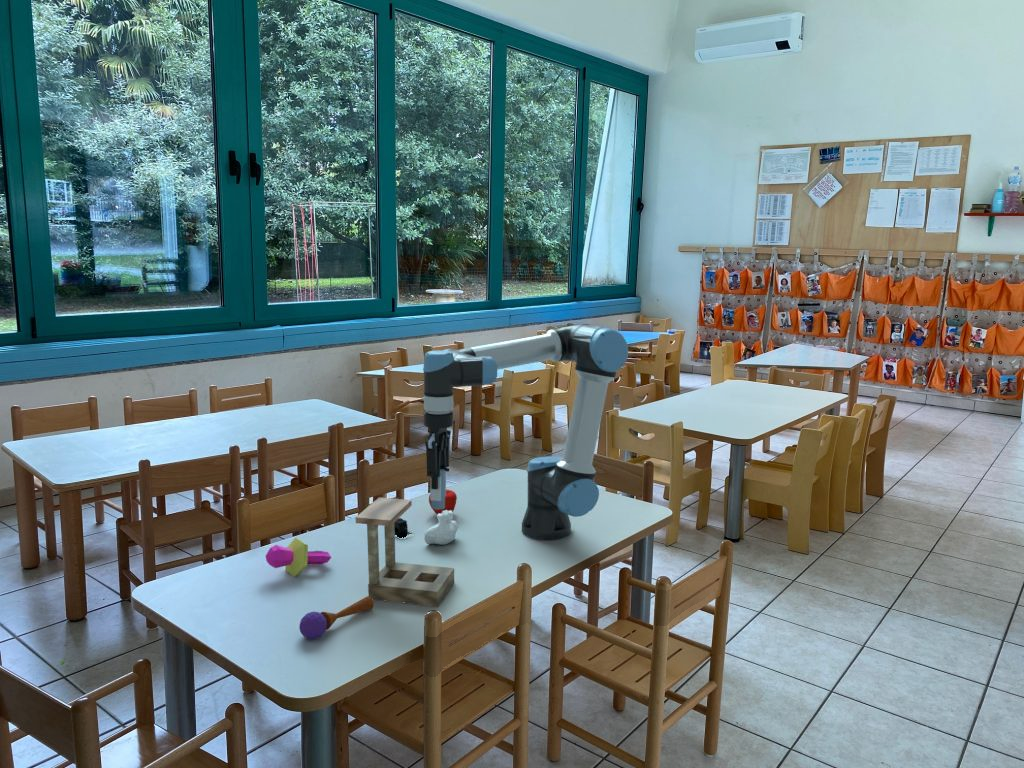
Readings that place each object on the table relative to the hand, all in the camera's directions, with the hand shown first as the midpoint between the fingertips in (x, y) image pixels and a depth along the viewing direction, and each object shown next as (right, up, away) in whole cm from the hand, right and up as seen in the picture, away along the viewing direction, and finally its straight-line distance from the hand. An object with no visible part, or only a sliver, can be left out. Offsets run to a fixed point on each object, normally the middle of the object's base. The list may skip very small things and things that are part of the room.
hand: (438, 497), depth 207 cm
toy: (-38, -21, +5) cm, 44 cm away
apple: (-3, -13, +47) cm, 49 cm away
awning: (-13, -19, -6) cm, 23 cm away
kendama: (-21, -27, -23) cm, 41 cm away
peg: (0, -3, 0) cm, 3 cm away
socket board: (-6, -23, -6) cm, 24 cm away
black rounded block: (-15, -16, +32) cm, 39 cm away
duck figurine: (-1, -17, +25) cm, 30 cm away
